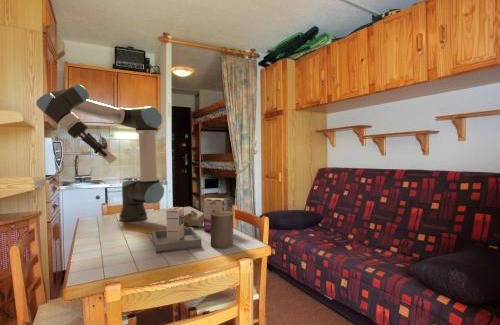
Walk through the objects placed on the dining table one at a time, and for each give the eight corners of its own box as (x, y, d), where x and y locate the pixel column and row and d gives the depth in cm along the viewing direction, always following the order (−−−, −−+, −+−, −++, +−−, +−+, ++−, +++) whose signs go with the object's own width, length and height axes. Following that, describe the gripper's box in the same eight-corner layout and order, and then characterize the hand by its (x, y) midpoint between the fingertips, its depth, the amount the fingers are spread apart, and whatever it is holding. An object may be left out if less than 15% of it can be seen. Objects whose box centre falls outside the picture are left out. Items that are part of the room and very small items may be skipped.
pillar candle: (206, 244, 121) (206, 209, 120) (225, 239, 127) (224, 206, 126) (219, 250, 113) (218, 213, 113) (238, 245, 119) (238, 210, 119)
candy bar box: (227, 230, 141) (227, 198, 140) (223, 233, 136) (223, 200, 136) (207, 228, 145) (207, 197, 144) (203, 231, 140) (203, 198, 139)
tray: (152, 238, 128) (152, 231, 128) (192, 234, 135) (192, 227, 135) (156, 253, 110) (155, 244, 109) (201, 247, 117) (201, 239, 116)
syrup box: (179, 243, 119) (178, 209, 118) (166, 242, 120) (166, 209, 119) (184, 239, 124) (184, 207, 124) (172, 238, 126) (172, 206, 125)
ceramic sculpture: (201, 212, 143) (173, 213, 145) (202, 229, 143) (174, 230, 145) (207, 208, 154) (181, 209, 156) (208, 224, 154) (182, 224, 156)
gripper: (72, 133, 129) (109, 165, 136) (59, 130, 106) (104, 168, 113) (85, 122, 131) (121, 154, 137) (75, 116, 108) (118, 155, 115)
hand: (113, 161), depth 125 cm, fingers open, 13 cm apart
